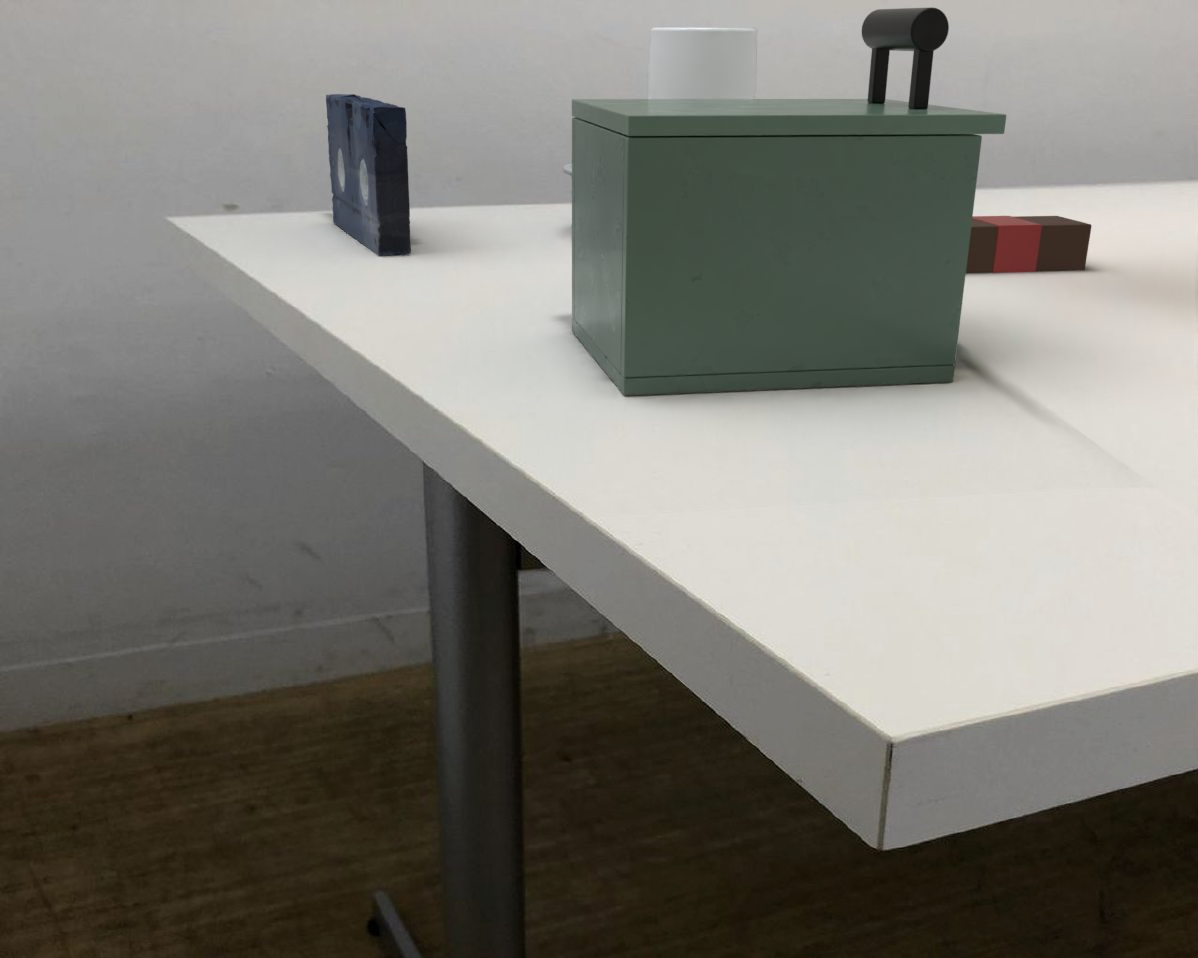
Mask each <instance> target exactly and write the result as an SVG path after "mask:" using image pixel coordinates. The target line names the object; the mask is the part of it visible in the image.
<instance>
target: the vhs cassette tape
mask: <svg viewBox="0 0 1198 958" xmlns="http://www.w3.org/2000/svg"><path fill="white" fill-rule="evenodd" d="M325 106H326V119H327V125H326V128H327V142H328V155H329V156H328V161H329V169H330V171H329V176H330V177H329V178H330V186H331V193H332V198H331V202H332V221H333V222H332V223H333V224H335V225H336V226H338V227H339V228H340V229H342V230H343V231H344V232H346V233H347V234H348V235H350V236H351V237H353V238H354V239H355V240H356V241H358V242H359V243H361V244H362V245H363V246H365V247H366V248H368V249H369V250H370V251H371V252H373V253H375V254H376V255H379V256H383V255H384V256H385V255H386V256H387V255H388V256H389V255H401V254H402V255H405V254H411V251H412V247H411V244H412V243H411V220H410V217H411V214H410V213H411V212H410V211H411V210H410V206H411V205H410V187H409V186H410V184H409V159H408V158H409V156H408V146H407V139H408V138H407V137H408V134H407V133H408V132H407V131H408V129H407V125H408V124H407V112H406V107H403V106H398V105H396V104H393V103H392V104H391V103H389V102H383V101H381V100H377V99H373V98H370V97H364V96H363V97H362V96H361V95H357V94H353V93H351V94H350V93H349V94H344V93H333V94H326V95H325Z"/></svg>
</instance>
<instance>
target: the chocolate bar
mask: <svg viewBox="0 0 1198 958" xmlns="http://www.w3.org/2000/svg"><path fill="white" fill-rule="evenodd" d="M1091 231H1092V224H1091V223H1087V222H1083V221H1079V220H1075V219H1071V218H1067V217H1065V216H1060V215H1027V216H1026V215H1025V216H1022V215H1021V216H1012V215H976V216H975V215H973V216H972V225H971V233H970V242H969V250H968V258H967V267H966V274H1003V273H1004V274H1005V273H1037V272H1038V273H1039V272H1041V273H1042V272H1075V271H1076V272H1077V271H1078V272H1079V271H1080V272H1081V271H1085V270H1086V264H1087V258H1088V252H1089V246H1090V238H1091Z"/></svg>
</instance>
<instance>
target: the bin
mask: <svg viewBox="0 0 1198 958" xmlns="http://www.w3.org/2000/svg"><path fill="white" fill-rule="evenodd" d="M982 139H983V136H982V135H981V134H922V135H752V136H627V135H624V134H622V133H619V132H616V131H613V130H610V129H608V128H605V127H602V126H599V125H596V124H593V123H591V122H588V121H585V120H582V119H579V118H577V117H574V116H572V118H571V163H572V177H571V316H572V318H571V332H572V333H573V335H574V336H575V337H576V338H577V339H578V341H580V343H581V344H582V345H583V347H584V348H585V350H587V352H588V353H589V354H590V355H591V356H592V358H593V359H594V360H595V362H597V364H598V365H599V366H600V368H602V371H604V373H606V375H607V376H608V377H609V379H610V380H611V381H612V382H613V383H614V384H615V386H616V387H617V388H618V390H620V392H621V393H622V395H624V396H625V397H626V396H647V395H648V396H650V395H672V394H673V395H674V394H675V395H676V394H696V393H697V394H698V393H699V394H700V393H719V392H720V393H721V392H723V393H724V392H742V391H744V392H745V391H766V390H767V391H768V390H769V391H771V390H790V389H793V390H794V389H813V388H815V389H816V388H841V387H863V386H886V385H911V384H935V383H936V384H937V383H953V382H954V377H955V369H956V368H955V367H956V366H955V365H956V359H957V350H958V341H959V333H960V326H961V318H962V317H961V316H962V309H963V298H964V291H965V283H966V276H967V275H966V267H967V258H968V250H969V242H970V233H971V225H972V216H974V207H975V200H976V199H975V198H976V190H977V182H978V172H979V166H980V165H979V164H980V157H981V149H982Z"/></svg>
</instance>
